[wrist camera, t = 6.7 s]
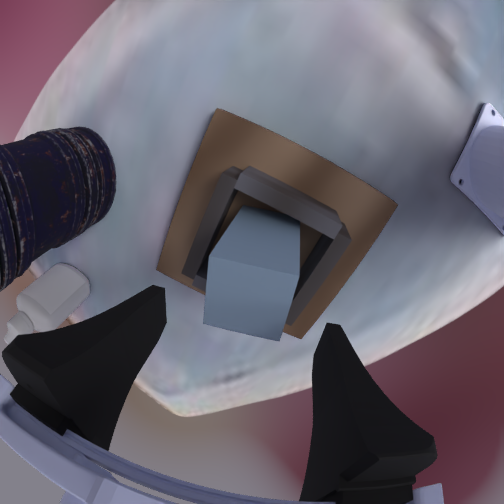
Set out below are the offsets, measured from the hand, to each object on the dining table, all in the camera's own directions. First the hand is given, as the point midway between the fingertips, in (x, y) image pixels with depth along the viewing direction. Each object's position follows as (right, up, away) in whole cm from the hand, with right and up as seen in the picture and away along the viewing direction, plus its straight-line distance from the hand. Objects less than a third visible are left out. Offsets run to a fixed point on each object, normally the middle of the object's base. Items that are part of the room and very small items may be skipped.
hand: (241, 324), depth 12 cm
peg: (+1, +4, +8) cm, 9 cm away
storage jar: (-16, +10, +10) cm, 21 cm away
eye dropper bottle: (-20, 0, +15) cm, 25 cm away
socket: (+2, +4, +9) cm, 10 cm away
